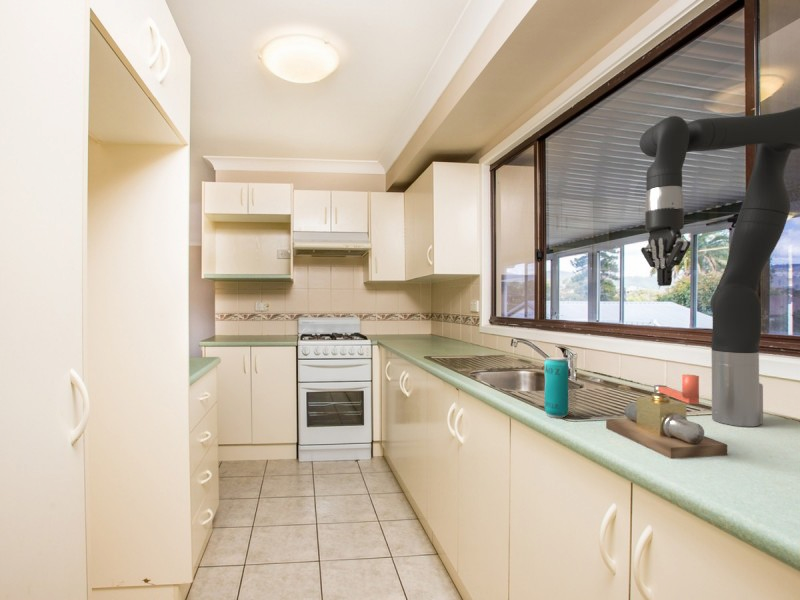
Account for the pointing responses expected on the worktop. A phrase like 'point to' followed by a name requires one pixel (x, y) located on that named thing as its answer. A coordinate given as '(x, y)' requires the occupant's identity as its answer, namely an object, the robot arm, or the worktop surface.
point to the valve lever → (688, 390)
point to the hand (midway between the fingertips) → (664, 285)
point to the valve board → (665, 428)
